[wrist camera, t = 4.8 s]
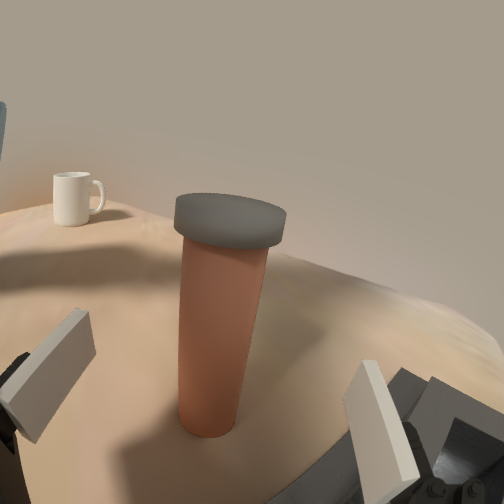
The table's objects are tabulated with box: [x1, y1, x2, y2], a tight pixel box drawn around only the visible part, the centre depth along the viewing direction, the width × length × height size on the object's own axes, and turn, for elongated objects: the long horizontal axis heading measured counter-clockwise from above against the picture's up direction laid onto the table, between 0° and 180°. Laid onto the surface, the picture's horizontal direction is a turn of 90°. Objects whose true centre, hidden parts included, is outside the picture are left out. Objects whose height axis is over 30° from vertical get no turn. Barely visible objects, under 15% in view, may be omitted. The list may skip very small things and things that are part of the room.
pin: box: [174, 193, 286, 438], centre depth 15 cm, size 5×5×15 cm
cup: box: [53, 172, 106, 227], centre depth 50 cm, size 8×12×10 cm
